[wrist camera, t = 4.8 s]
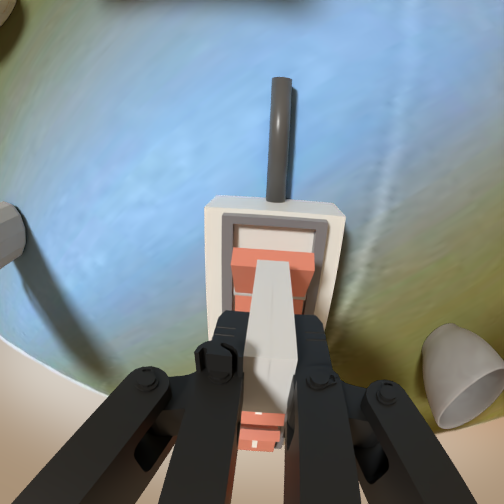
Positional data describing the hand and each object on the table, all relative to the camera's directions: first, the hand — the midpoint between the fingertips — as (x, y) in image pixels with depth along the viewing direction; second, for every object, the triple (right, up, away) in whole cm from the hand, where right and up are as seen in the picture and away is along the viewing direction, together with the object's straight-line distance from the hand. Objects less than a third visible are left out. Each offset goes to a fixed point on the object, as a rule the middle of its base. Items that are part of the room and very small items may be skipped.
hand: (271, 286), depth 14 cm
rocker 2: (-1, -17, +11) cm, 21 cm away
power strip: (0, -3, +11) cm, 11 cm away
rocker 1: (0, -1, +4) cm, 4 cm away
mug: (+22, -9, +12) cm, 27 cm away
